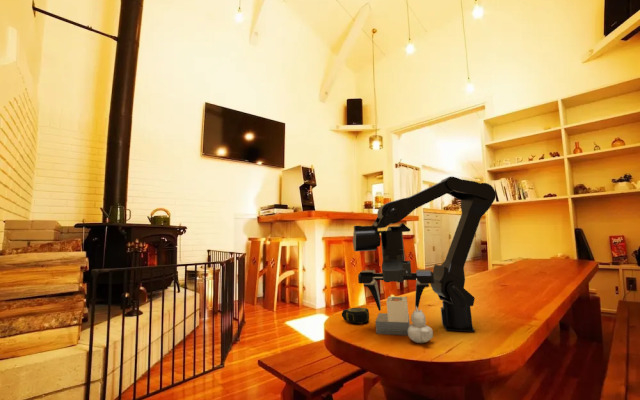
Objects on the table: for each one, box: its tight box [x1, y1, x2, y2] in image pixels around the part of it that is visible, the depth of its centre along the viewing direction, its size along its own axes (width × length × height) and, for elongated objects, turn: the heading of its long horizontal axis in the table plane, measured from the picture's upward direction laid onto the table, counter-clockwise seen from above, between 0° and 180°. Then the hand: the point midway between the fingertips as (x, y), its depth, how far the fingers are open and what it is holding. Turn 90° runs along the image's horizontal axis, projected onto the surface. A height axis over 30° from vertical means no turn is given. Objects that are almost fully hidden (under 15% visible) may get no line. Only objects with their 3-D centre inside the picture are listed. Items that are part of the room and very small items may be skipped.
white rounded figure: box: [407, 306, 434, 344], centre depth 64 cm, size 5×7×8 cm
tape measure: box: [341, 307, 370, 324], centre depth 82 cm, size 7×7×4 cm
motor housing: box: [375, 312, 411, 337], centre depth 74 cm, size 8×8×7 cm
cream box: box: [386, 296, 409, 323], centre depth 73 cm, size 6×5×5 cm
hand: (397, 310), depth 73 cm, fingers open, 9 cm apart
